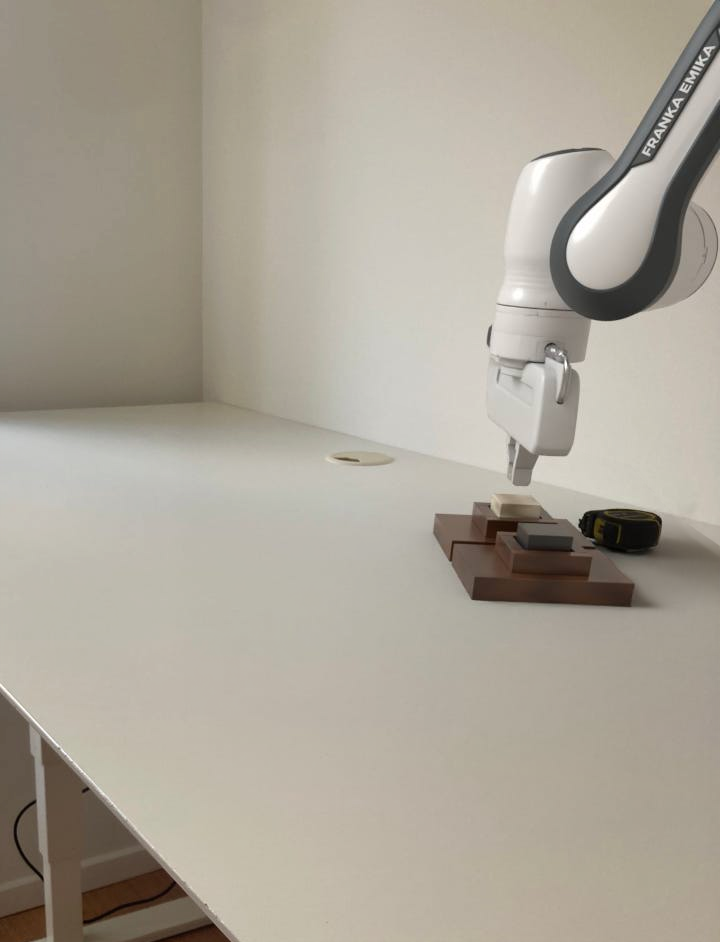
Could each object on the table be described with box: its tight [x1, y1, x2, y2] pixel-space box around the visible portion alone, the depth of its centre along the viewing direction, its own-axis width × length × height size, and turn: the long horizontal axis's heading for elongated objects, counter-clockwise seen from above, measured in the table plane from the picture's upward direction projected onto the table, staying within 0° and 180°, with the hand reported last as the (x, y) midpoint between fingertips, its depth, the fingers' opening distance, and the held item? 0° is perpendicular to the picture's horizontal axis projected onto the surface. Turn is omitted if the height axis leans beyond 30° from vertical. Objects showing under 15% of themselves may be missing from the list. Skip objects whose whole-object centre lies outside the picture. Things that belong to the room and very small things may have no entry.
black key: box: [516, 523, 573, 552], centre depth 93 cm, size 4×4×2 cm
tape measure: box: [577, 508, 663, 553], centre depth 106 cm, size 7×7×4 cm
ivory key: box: [490, 493, 542, 519], centre depth 103 cm, size 4×4×2 cm
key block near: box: [451, 532, 636, 608], centre depth 94 cm, size 14×10×4 cm
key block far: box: [432, 501, 597, 563], centre depth 104 cm, size 14×10×4 cm
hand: (517, 482), depth 102 cm, fingers closed
